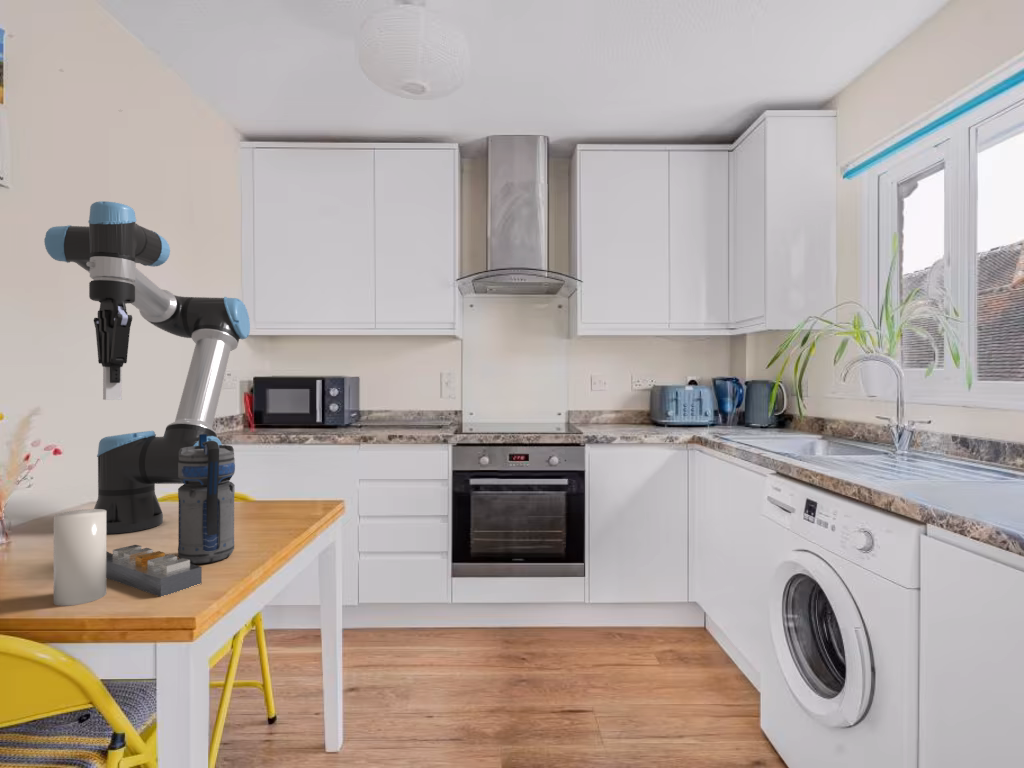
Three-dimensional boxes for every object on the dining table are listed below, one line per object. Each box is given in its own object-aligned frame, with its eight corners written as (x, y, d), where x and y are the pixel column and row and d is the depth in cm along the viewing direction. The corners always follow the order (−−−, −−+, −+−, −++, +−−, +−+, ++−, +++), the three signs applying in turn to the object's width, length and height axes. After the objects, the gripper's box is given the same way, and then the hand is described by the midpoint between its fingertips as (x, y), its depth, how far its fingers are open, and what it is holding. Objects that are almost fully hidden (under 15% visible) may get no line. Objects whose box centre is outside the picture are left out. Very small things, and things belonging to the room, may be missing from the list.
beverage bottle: (183, 573, 106) (184, 440, 106) (174, 555, 117) (174, 435, 117) (242, 562, 113) (242, 437, 113) (227, 547, 123) (228, 432, 123)
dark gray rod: (96, 555, 117) (96, 549, 117) (103, 553, 118) (103, 548, 118) (117, 566, 110) (117, 559, 110) (124, 564, 111) (124, 558, 111)
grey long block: (100, 577, 105) (100, 551, 105) (141, 567, 111) (141, 541, 111) (160, 599, 95) (160, 569, 95) (201, 586, 101) (201, 558, 101)
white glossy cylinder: (47, 599, 93) (47, 514, 93) (97, 586, 99) (97, 507, 99) (61, 609, 89) (61, 521, 89) (113, 595, 95) (113, 512, 95)
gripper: (78, 282, 114) (78, 399, 114) (102, 275, 106) (102, 400, 106) (121, 287, 120) (121, 398, 120) (147, 281, 112) (147, 399, 112)
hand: (112, 399), depth 113 cm, fingers closed
